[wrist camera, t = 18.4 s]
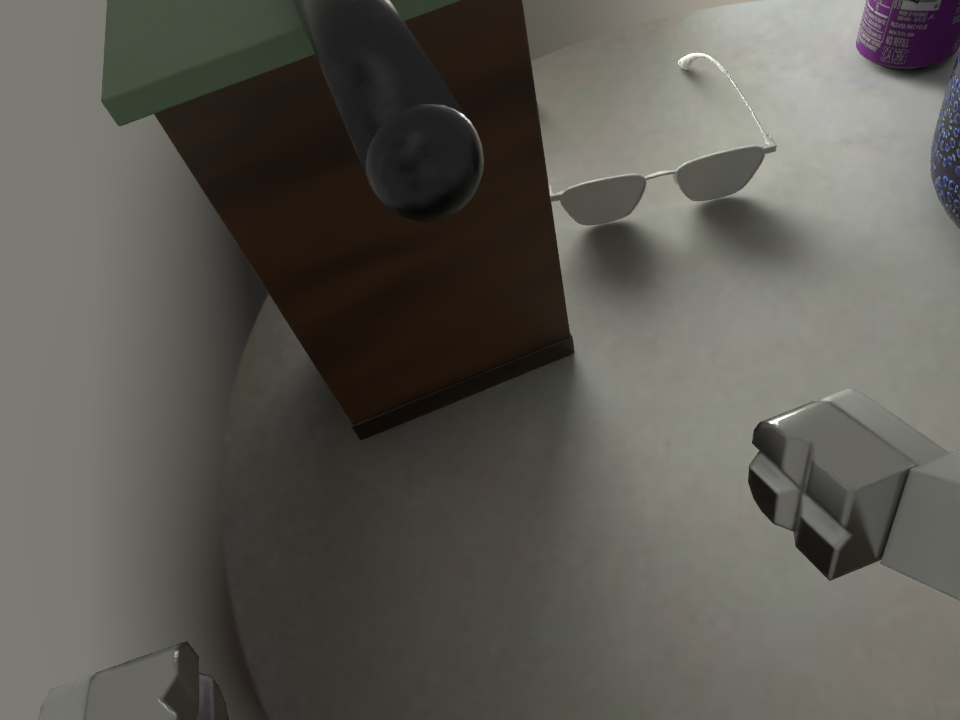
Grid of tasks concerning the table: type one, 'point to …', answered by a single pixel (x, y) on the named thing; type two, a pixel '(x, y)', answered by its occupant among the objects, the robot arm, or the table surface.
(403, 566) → the table surface
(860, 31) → the beverage can
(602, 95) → the table surface
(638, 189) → the eyeglasses
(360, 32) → the door
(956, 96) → the planter
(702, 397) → the table surface
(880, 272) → the table surface
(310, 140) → the cabinet
